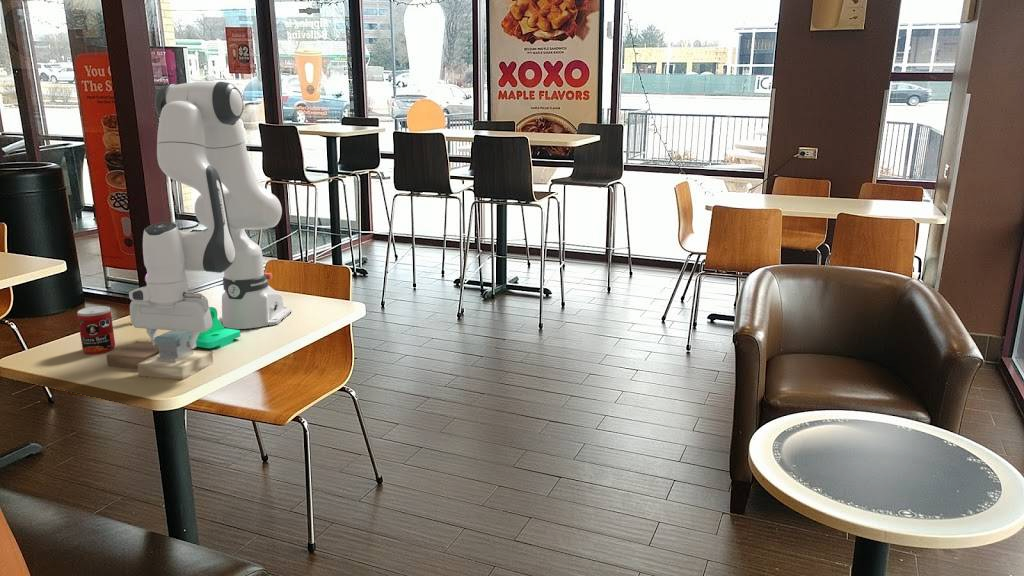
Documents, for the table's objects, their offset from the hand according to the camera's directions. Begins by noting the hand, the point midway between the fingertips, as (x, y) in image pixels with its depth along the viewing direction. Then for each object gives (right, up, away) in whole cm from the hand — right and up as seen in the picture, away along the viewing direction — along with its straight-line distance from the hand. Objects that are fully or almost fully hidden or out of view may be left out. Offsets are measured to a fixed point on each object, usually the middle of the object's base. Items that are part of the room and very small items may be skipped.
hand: (174, 346), depth 187 cm
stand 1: (-12, -4, +8) cm, 15 cm away
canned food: (-27, -2, +16) cm, 32 cm away
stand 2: (0, -6, +1) cm, 6 cm away
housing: (0, -3, +1) cm, 3 cm away
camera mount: (+2, -1, +21) cm, 21 cm away
